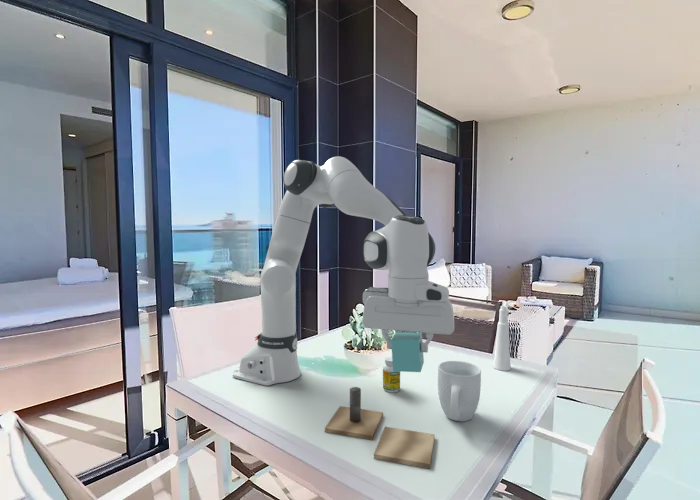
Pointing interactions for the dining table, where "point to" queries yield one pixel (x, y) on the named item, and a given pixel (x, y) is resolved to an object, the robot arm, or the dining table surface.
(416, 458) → the oak pad
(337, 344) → the dining table surface
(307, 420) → the dining table surface
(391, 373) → the supplement bottle
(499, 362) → the cosmetic bottle
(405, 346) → the teal rectangular block
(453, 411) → the mug
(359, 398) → the post stand
